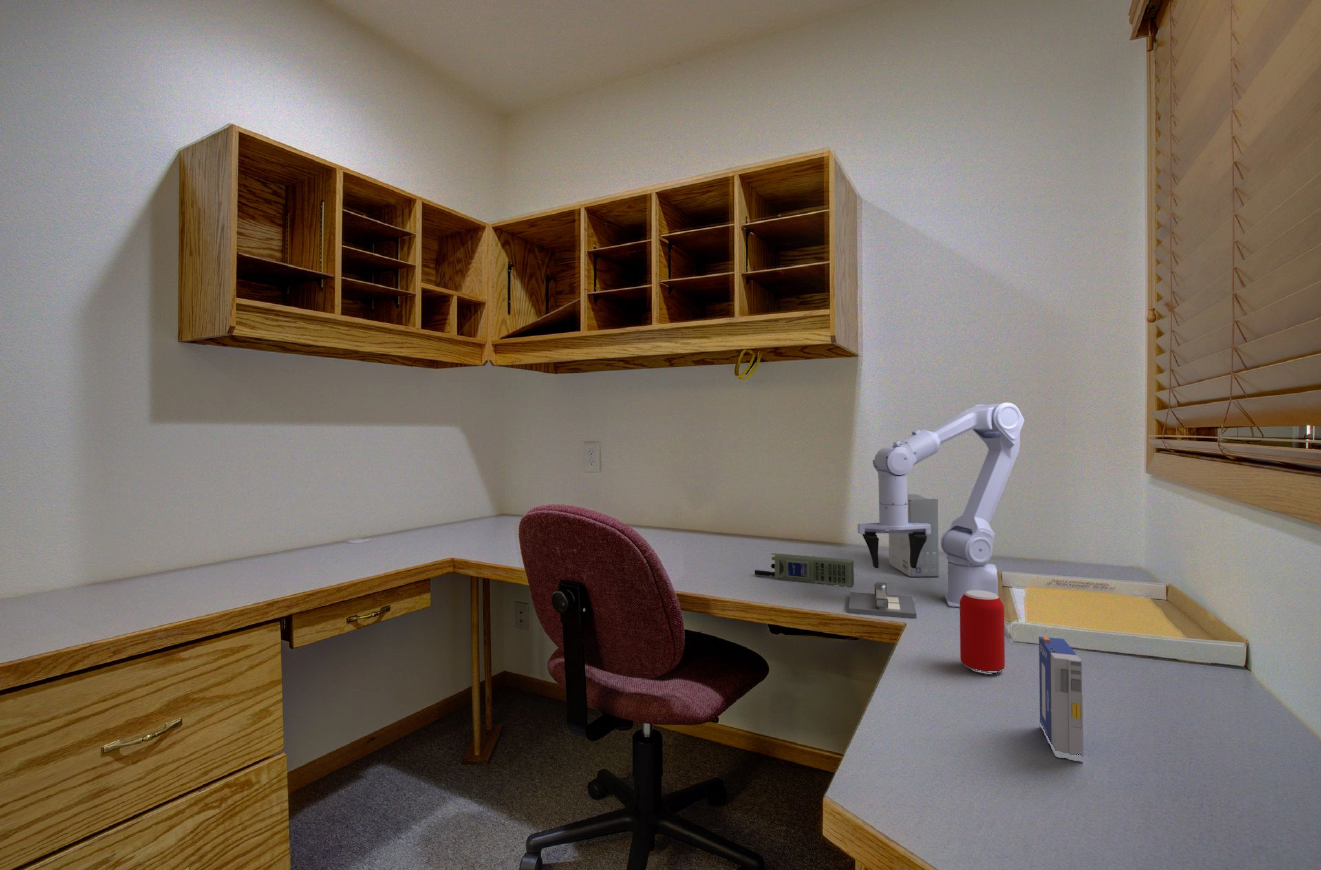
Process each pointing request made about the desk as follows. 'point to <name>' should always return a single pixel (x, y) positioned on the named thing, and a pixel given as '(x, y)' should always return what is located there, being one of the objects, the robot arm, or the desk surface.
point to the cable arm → (881, 595)
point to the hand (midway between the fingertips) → (894, 567)
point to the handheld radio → (811, 569)
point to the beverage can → (982, 631)
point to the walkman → (1061, 695)
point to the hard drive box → (928, 560)
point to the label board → (867, 605)
